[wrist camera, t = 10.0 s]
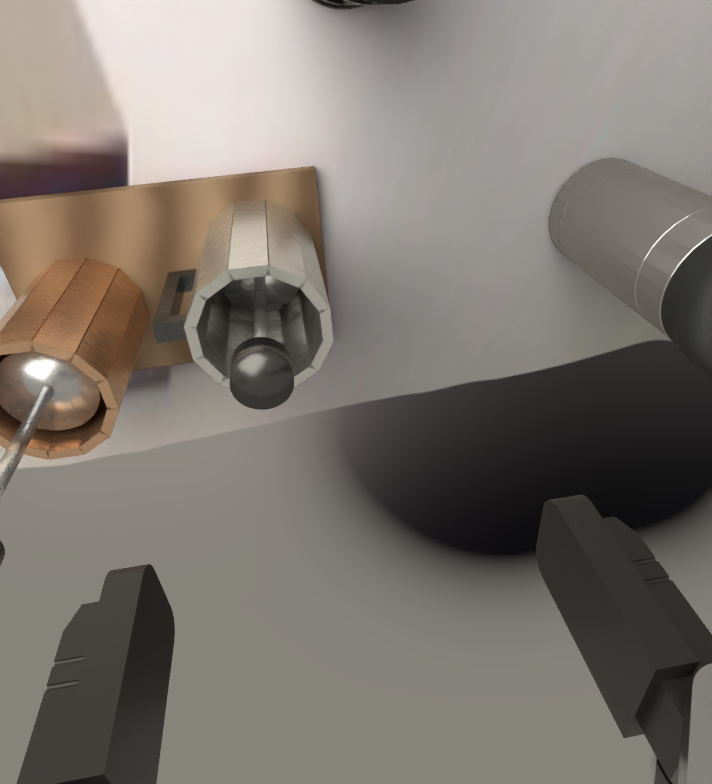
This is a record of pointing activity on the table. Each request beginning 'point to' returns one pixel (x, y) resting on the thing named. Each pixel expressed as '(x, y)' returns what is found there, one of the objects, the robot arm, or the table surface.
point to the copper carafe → (77, 343)
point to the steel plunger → (261, 345)
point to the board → (143, 233)
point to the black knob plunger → (41, 402)
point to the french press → (355, 3)
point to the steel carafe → (240, 261)
